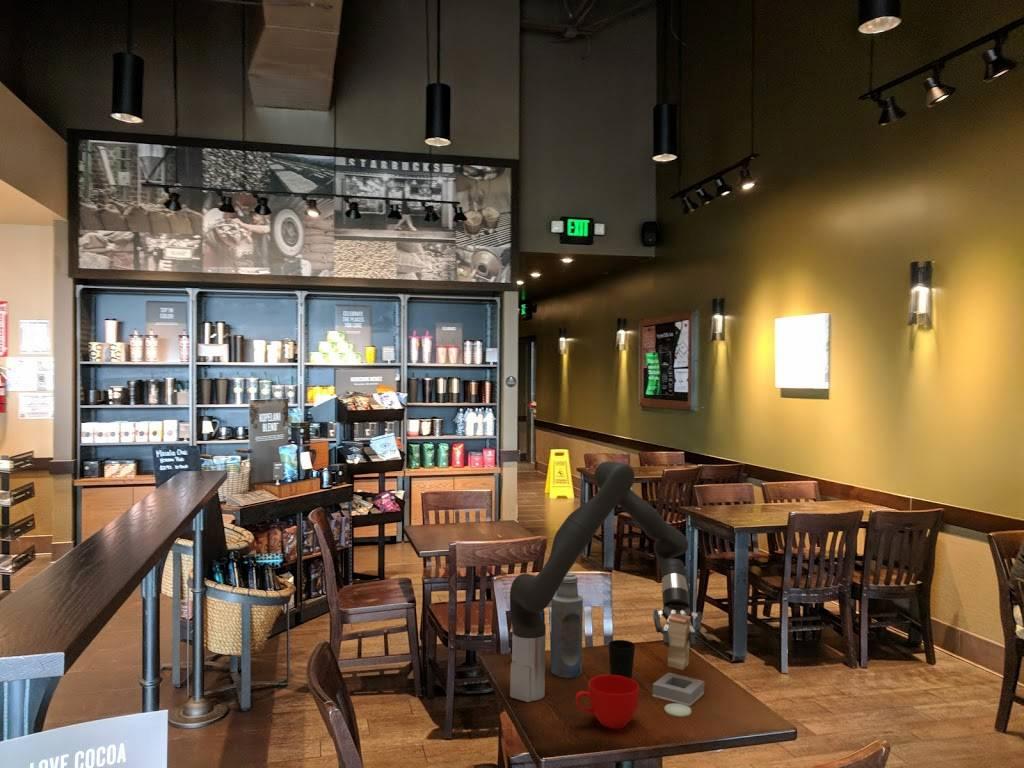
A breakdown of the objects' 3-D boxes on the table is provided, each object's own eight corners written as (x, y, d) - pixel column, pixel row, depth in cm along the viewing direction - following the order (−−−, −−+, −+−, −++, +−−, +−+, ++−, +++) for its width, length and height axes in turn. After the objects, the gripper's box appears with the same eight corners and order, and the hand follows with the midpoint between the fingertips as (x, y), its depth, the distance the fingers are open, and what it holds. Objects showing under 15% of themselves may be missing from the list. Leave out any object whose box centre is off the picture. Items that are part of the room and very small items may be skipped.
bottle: (555, 679, 219) (557, 578, 220) (546, 667, 229) (548, 570, 229) (586, 677, 222) (588, 576, 222) (575, 665, 231) (577, 568, 232)
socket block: (690, 706, 203) (690, 693, 203) (652, 696, 209) (652, 684, 209) (704, 693, 212) (704, 681, 212) (667, 683, 218) (668, 672, 218)
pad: (685, 719, 194) (685, 716, 194) (660, 712, 198) (660, 710, 198) (695, 710, 200) (695, 707, 200) (670, 703, 204) (670, 701, 204)
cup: (633, 692, 212) (634, 649, 212) (606, 689, 213) (607, 647, 213) (634, 681, 219) (635, 641, 219) (608, 679, 221) (609, 638, 221)
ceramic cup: (566, 716, 195) (567, 678, 195) (625, 710, 199) (626, 672, 200) (584, 739, 182) (585, 698, 182) (647, 731, 187) (648, 691, 187)
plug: (683, 670, 208) (685, 622, 207) (666, 665, 210) (668, 618, 209) (689, 664, 212) (690, 616, 211) (672, 659, 214) (674, 613, 213)
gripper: (651, 585, 219) (655, 638, 207) (701, 587, 217) (707, 641, 205) (649, 598, 224) (652, 651, 212) (697, 600, 223) (703, 654, 211)
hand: (679, 646), depth 209 cm, fingers closed on plug, 6 cm apart
